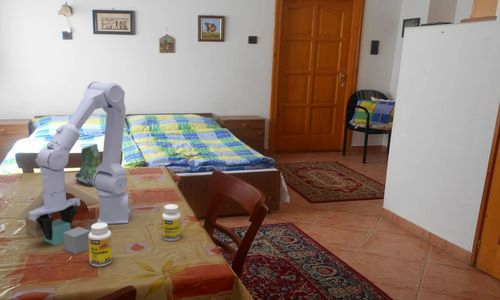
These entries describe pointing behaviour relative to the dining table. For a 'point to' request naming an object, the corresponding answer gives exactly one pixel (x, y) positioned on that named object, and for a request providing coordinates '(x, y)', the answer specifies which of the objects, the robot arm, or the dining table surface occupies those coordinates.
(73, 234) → the slate block
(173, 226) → the supplement bottle
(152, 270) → the dining table surface
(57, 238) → the teal block
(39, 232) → the tan cube
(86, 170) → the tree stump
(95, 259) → the supplement bottle
